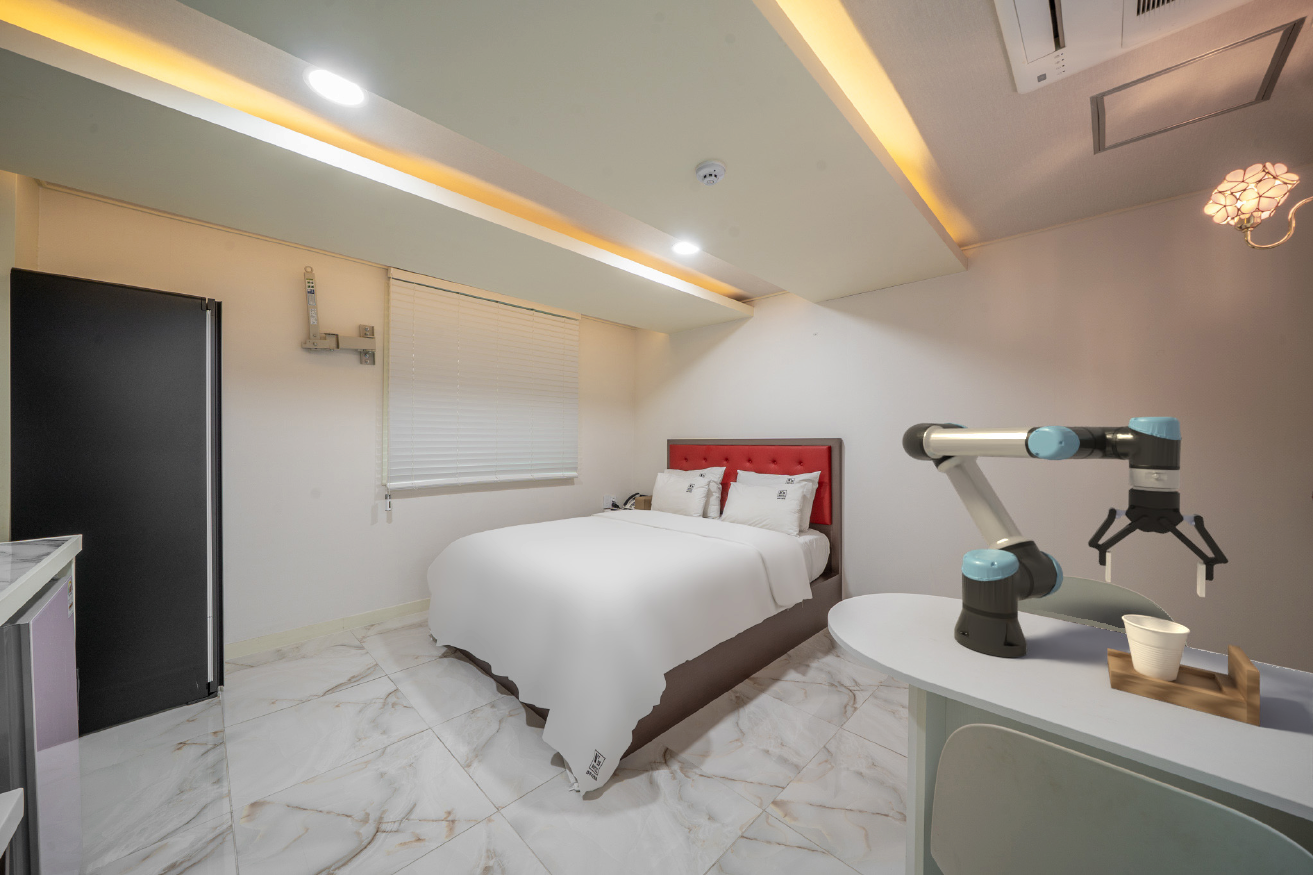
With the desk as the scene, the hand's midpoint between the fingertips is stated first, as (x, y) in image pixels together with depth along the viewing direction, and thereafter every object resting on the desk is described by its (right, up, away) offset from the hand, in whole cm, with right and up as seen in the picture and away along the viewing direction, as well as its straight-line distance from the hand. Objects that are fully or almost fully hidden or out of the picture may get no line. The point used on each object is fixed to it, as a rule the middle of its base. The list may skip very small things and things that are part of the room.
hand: (1152, 587), depth 99 cm
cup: (0, -19, -1) cm, 19 cm away
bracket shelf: (+2, -21, -2) cm, 21 cm away
